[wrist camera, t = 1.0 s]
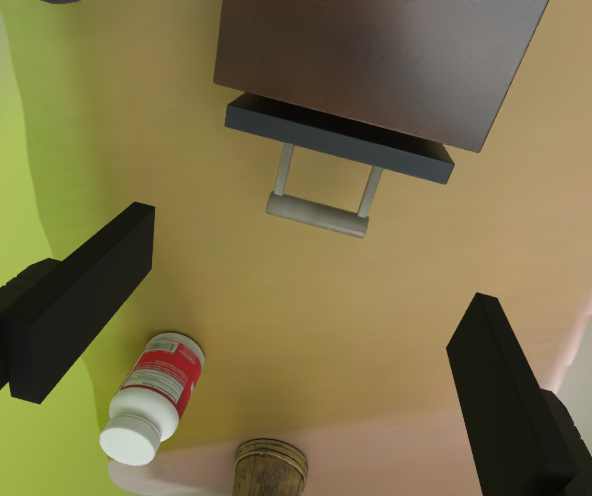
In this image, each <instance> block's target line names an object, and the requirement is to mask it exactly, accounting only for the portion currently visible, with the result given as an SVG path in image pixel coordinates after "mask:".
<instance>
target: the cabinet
mask: <svg viewBox="0 0 592 496" xmlns="http://www.w3.org/2000/svg"><path fill="white" fill-rule="evenodd" d="M548 2H549V0H223V3H222V11H221V20H220V28H219V37H218V45H217V54H216V62H215V71H214V79H213V82H214V83H215V84H218V85H222V86H225V87H229V88H233V89H237V90H241V91H244V92H248V93H252V94H256V95H260V96H263V97H267V98H271V99H275V100H279V101H283V102H286V103H290V104H294V105H298V106H302V107H305V108H309V109H313V110H317V111H321V112H324V113H328V114H332V115H336V116H340V117H343V118H347V119H351V120H355V121H359V122H362V123H366V124H370V125H374V126H378V127H381V128H385V129H389V130H393V131H397V132H400V133H404V134H408V135H412V136H416V137H420V138H423V139H427V140H431V141H435V142H439V143H442V144H446V145H450V146H454V147H458V148H461V149H465V150H469V151H473V152H477V153H479V152H480V151H481V149H482V147H483V144H484V142H485V140H486V138H487V136H488V133H489V131H490V129H491V127H492V125H493V123H494V120H495V118H496V116H497V114H498V112H499V109H500V107H501V105H502V103H503V101H504V98H505V96H506V94H507V92H508V90H509V87H510V85H511V83H512V81H513V79H514V76H515V74H516V72H517V70H518V68H519V65H520V63H521V61H522V59H523V57H524V55H525V52H526V50H527V48H528V46H529V44H530V41H531V39H532V37H533V35H534V33H535V30H536V28H537V26H538V24H539V22H540V19H541V17H542V15H543V13H544V11H545V8H546V6H547V4H548Z"/></svg>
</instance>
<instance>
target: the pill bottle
mask: <svg viewBox="0 0 592 496" xmlns="http://www.w3.org/2000/svg"><path fill="white" fill-rule="evenodd" d="M203 367H204V355H203V352H202V350H201V349H200V347H199V346H198V345H197V344H196V343H195V342H194V341H193V340H191V339H190V338H188V337H186V336H184V335H181V334H178V333H163V334H159V335H157V336H155V337H154V338H153V339H152V340H151V341H150V342H149V343H148V344H147V346H146V348H145V349H144V351H143V352H142V354H141V355H140V357H139V359H138V360H137V362H136V363H135V365H134V366H133V368H132V369H131V371H130V373H129V374H128V376H127V377H126V379H125V380H124V382H123V383H122V385H121V386H120V388H119V389H118V391H117V392H116V394H115V396H114V397H113V399H112V401H111V403H110V407H109V416H110V420H109V421H108V423H107V424H106V426H105V428H104V430H103V431H102V433H101V435H100V445H101V447H102V449H103V450H104V451H105V452H106V453H107V454H108V455H109V456H110V457H111V458H113V459H114V460H116V461H118V462H121V463H123V464H127V465H133V466H139V465H144V464H147V463H149V462H150V461H151V460H152V459H153V458H154V456H155V454H156V452H157V449H158V447H159V445H160V442H162V441H164V440H166V439H168V438H169V437H170V436H171V435H172V434H173V433H174V432H175V430H176V428H177V426H178V424H179V422H180V419H181V417H182V415H183V413H184V410H185V408H186V406H187V403H188V401H189V399H190V397H191V395H192V392H193V390H194V388H195V385H196V383H197V381H198V379H199V376H200V374H201V372H202V370H203Z"/></svg>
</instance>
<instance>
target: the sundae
mask: <svg viewBox="0 0 592 496" xmlns="http://www.w3.org/2000/svg"><path fill="white" fill-rule="evenodd" d="M41 1H45V2H48V3H51V4H66V3H72V2H78V1H80V0H41Z"/></svg>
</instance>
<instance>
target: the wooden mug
mask: <svg viewBox="0 0 592 496" xmlns="http://www.w3.org/2000/svg"><path fill="white" fill-rule="evenodd" d="M233 473H234V478H235V479H234V487H233V494H232V496H301V495H302V494H303V492H304V491H305V487H306V482H307V476H308V465H307V461H306V459H305V457H304V456H303V455H302V454H301V453H300V452H299V451H298V450H296V449H295V448H293V447H291V446H290V445H287V444H284V443H282V442H278V441H274V440H264V439H260V440H254V441H250V442H247V443H245V444H243V445H242V446H240V447H239V448H238V450H237V452H236V457H235V463H234V471H233Z"/></svg>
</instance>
